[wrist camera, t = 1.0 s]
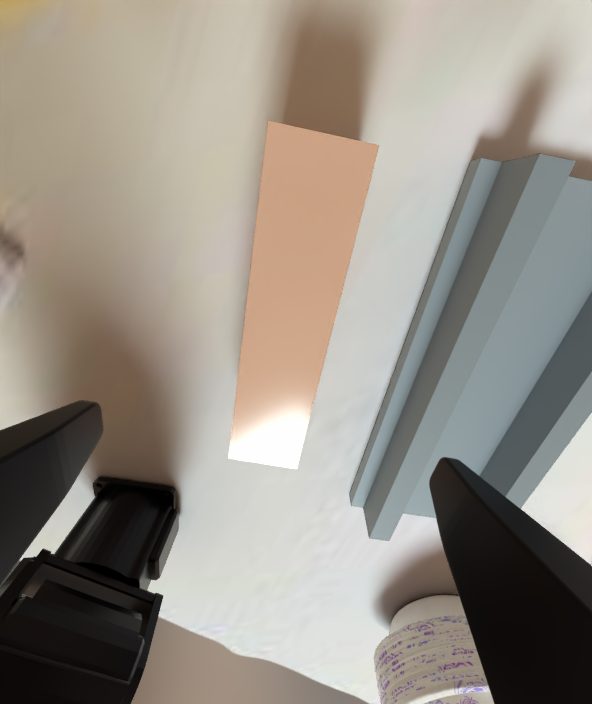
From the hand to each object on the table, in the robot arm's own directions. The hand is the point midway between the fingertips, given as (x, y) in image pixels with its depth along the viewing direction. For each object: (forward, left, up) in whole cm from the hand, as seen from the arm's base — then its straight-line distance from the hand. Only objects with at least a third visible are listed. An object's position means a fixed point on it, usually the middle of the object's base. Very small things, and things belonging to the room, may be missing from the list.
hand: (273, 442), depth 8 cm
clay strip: (0, 0, -12) cm, 12 cm away
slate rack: (+13, -3, -12) cm, 18 cm away
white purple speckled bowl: (+22, -32, -12) cm, 40 cm away
